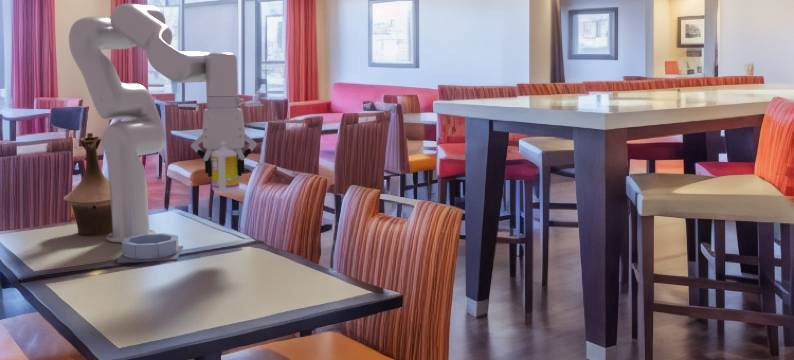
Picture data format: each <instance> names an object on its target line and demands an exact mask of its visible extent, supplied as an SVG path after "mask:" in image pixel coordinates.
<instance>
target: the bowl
mask: <svg viewBox="0 0 794 360" xmlns="http://www.w3.org/2000/svg"><path fill="white" fill-rule="evenodd" d="M179 246H180V245H179V235H176V234H173V233H172V234H170V233H167V232H166V233H165V232H161V233H158V232H157V233H155V234H141V235H137V236H132V237H127V238H125V239H124V240H123V241H122V243H121V252H122V254H123V255H124V257H125V258H128V259H136V260H148V259H159V258H165V257H169V256H172V255H175V254H177V253H178V247H179ZM122 254H121V255H122Z"/></svg>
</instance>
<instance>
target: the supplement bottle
mask: <svg viewBox="0 0 794 360" xmlns="http://www.w3.org/2000/svg"><path fill="white" fill-rule="evenodd" d="M220 144H221V146H223V147H221V149H218V150H212V152H211V155H210V159H211V188H212V191H214V192H215V193H216V192H217V193H231V192H235V191H238V190H239V189H240V176H239V175H238V159H239V156H238V154H237V152H236V150H232V149H227V148H226V147H224V146H226V145H225V144H227V143H226V142H225V141H224V140H222V142H221V143H220Z"/></svg>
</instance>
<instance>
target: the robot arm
mask: <svg viewBox="0 0 794 360" xmlns="http://www.w3.org/2000/svg"><path fill="white" fill-rule="evenodd" d="M172 41H173V33H172V30H171V28H170V27H169V26H168V25H166V19H165V15H164V13H163V12H162V11H161V10H160V9H159V8H158V7H156V6H154V5H150V4H142V3H140V4H138V3H122V4H119V5H117V6H116V7H115V8H114V9H112V11H111V13H110V17H106V16H86V17H82V18H79V19H77V20H76V21H74V23H73V24H72V25H71V27H70V30H69V33H68V45H69V51H70V53H71V56H72V58H73V60H74V62H75V63H76V65H77V67H78V69H79V71H80V73H81V75H82V77H83V80H84V82H85V85H86V88H87V90H88V92H89V95H90V98H91V100H92V102H93V105H94V108H95V110H96V112H97V114H98V116H99V117H100V118H102V119H104V120H122V119H130V120H126V121H125V120H123V121H117V122H114V123H111V124H110V125H108V126H107V127H106V128H105V129H104V131H103V133H102V137H101V140H102V147H103V150H104V153H105V158H106V162H107V171H108V180H109V185H110V201H111V216H112V233H110V234H108V235H106V240H107V241H108V242H111V243H121V244H122V241H123V240H124V239H125V238H127V237H132V236H137V235H141V234H156V231H154V230H152V229H150V221H149V219H150V218H149V217H150V215H149V204H148V203H149V200H148V185H147V183H148V182H147V172H146V168H145V165H144V164H143V162H142V161H141V159H140V157H139V156H144V155H151V154H155V153H159V152H160V151H161V150H163V148H164V147H165V145H166V141H167V137H166V129H165V127H164V124H163V121H162V119H161V116H160V114H159V111H158V108H157V106H156V103H155V100H154V99H153V96H152V95H151V92H150V91H149V90H148V89H147V88H146V87H145V86H143V85H142V84H140V83H137V82H135V83H134V82H126V83H125V82H122V81H121V78H120V77H119V74H118V72H117V69H116V67H115V65H114V63H113V62H112V61H111V60H110V59H109V57H108V56H106V55H105V54H104V53H103V52H102V50H127V49H131V48H134V47H137V48H140V49H141V51H143V52H145V53H146V57H147V60H148V62H149V64H150V66H151V67H152V68H153V69H154V70H155V71H156V72H158V73H159V74H160V75H162V76H163V77H165V78H167V79H168V80H171V81H172V82H175V83H180V84H187V83H189V84H190V83H205V87H206V91H205V92H206V107H207V108H205V109H203V116H202V117H203V118H202V134H201V135H199V137H197V139H196V140H194V142H192V143H191V144H190V147H191V149H192V150H193V151H194V152H196V154H197V155H198V156H200V157H201V159H203V161H204V170H205V171H204V172H205V174H207V178H210V177H211V178H212V176H211V152H212V150H218V149H221V147H223V146H221V144H220V143H221V142H222V140H224V141H225V142H226V143H227V144H225V145H226V146H224V147H226V148H227V149H232V150H236V152H237V154H238V175H239V177H242V175H243V173H245V159H246V158H248V156H249V155H250V154H251V153H252V151H253V150H254V149H255V148H257V144H258V143H257V142H256V141H255V140H253V139H252V138H251V137H250V136H248V134H246V132H245V121H244V120H245V119H244V114H243V109H242V108H239V106H240V105H244V104H245V98H241V97H239V88H238V87H239V86H238V85H239V84H238V61H237V60H238V57H237V56H236V55H235V53H233V52H209V51H179V50H177V49H176V48H174V47H173V46H172V45H171V44H172ZM201 143H202V147H203V148H204V149H205V150H206V152H205V151H204V150H203V149H202V148H200V146H199V145H200V144H201ZM246 143H248V144H249V146H248V147H247V148H246V149H245V150H244V151H243V148H245V145H246Z"/></svg>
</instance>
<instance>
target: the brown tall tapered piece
mask: <svg viewBox="0 0 794 360" xmlns="http://www.w3.org/2000/svg"><path fill="white" fill-rule="evenodd" d="M86 136H87V137H81V138H79V139H78V140H79V143H80V144H81V145H82V147H83V148H84V150H85V170H84V173H83V176H82V178H81V180H80V182H79V183H78V184H77V186H75V188H73V189H72V190H71V191H70V192H69V193H67V195H65V196H64V197H63V200H64V201H65V202H67V203H69V204H70V205H71V207H72V210H73V213H74V218H75V223H76V225H77V234H78V235H80V236H84V237H85V236H86V237H100V236H107V235H108V234H110V233H112V216H111V201H110V185H109V178H107V177H106V176H105V174H103V172H102V170H101V167H100V163H99V156H98V152H97V150H98V148H99V146H100V145H101V144H100V143H101V140H102V137H100V136H94V135H93V133H92V132H87V134H86Z"/></svg>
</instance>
